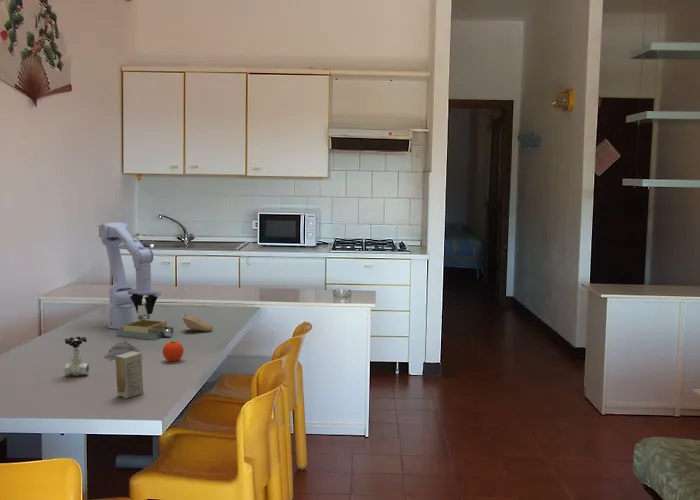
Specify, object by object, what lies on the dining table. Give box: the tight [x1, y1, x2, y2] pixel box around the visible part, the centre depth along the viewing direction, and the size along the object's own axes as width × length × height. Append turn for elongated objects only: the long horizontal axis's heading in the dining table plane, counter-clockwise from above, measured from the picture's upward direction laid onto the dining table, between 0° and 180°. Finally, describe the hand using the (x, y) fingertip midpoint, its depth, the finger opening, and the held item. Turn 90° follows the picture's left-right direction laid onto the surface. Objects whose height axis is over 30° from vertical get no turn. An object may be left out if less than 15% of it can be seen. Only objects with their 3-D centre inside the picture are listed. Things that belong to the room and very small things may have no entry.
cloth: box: [103, 340, 140, 361], centre depth 247 cm, size 26×14×2 cm, turn 175°
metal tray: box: [116, 319, 174, 341], centre depth 271 cm, size 21×12×4 cm, turn 69°
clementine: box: [162, 340, 184, 362], centre depth 234 cm, size 8×7×7 cm
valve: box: [64, 336, 90, 377], centre depth 217 cm, size 7×7×12 cm
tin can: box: [137, 302, 151, 320], centre depth 270 cm, size 5×5×6 cm
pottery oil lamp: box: [182, 314, 214, 332], centre depth 277 cm, size 9×12×7 cm
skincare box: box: [115, 351, 144, 399], centre depth 198 cm, size 6×4×12 cm
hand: (144, 313), depth 271 cm, fingers closed on tin can, 5 cm apart
